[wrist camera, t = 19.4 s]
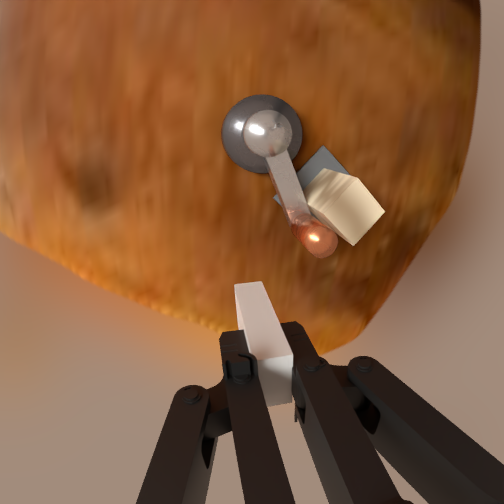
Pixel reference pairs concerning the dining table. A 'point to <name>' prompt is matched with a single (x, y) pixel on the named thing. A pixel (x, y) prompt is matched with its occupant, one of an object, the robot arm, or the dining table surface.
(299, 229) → the crank
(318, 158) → the pad
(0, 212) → the dining table surface
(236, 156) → the crank base
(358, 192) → the block
